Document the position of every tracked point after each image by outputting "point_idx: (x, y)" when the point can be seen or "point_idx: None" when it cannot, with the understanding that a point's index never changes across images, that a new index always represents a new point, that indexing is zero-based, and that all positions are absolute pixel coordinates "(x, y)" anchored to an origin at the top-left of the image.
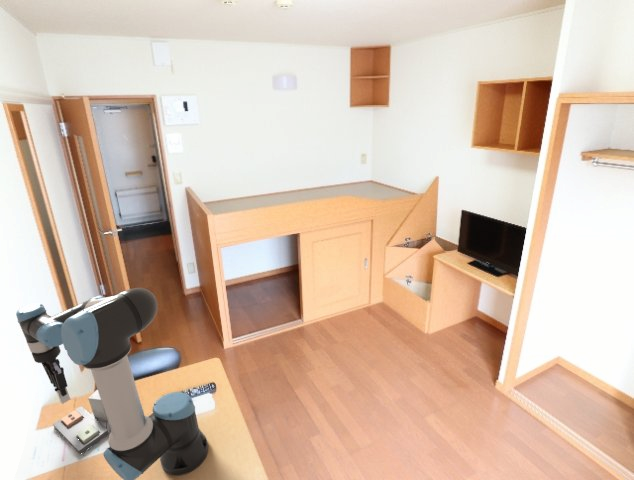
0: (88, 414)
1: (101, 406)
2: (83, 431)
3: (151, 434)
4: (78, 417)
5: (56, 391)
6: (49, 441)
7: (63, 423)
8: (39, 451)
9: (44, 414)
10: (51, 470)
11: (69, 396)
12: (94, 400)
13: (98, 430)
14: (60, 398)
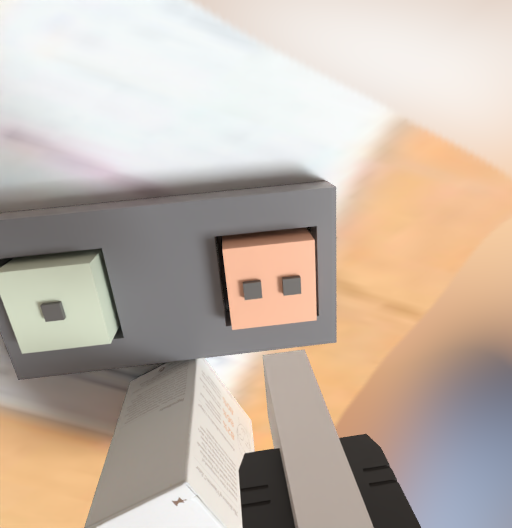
0: (230, 347)
1: (110, 466)
2: (79, 297)
3: None
4: (231, 313)
5: (343, 483)
6: (239, 124)
7: (295, 231)
8: (203, 51)
9: (493, 175)
10: None
11: (273, 442)
12: (136, 494)
13: None
14: (274, 408)
